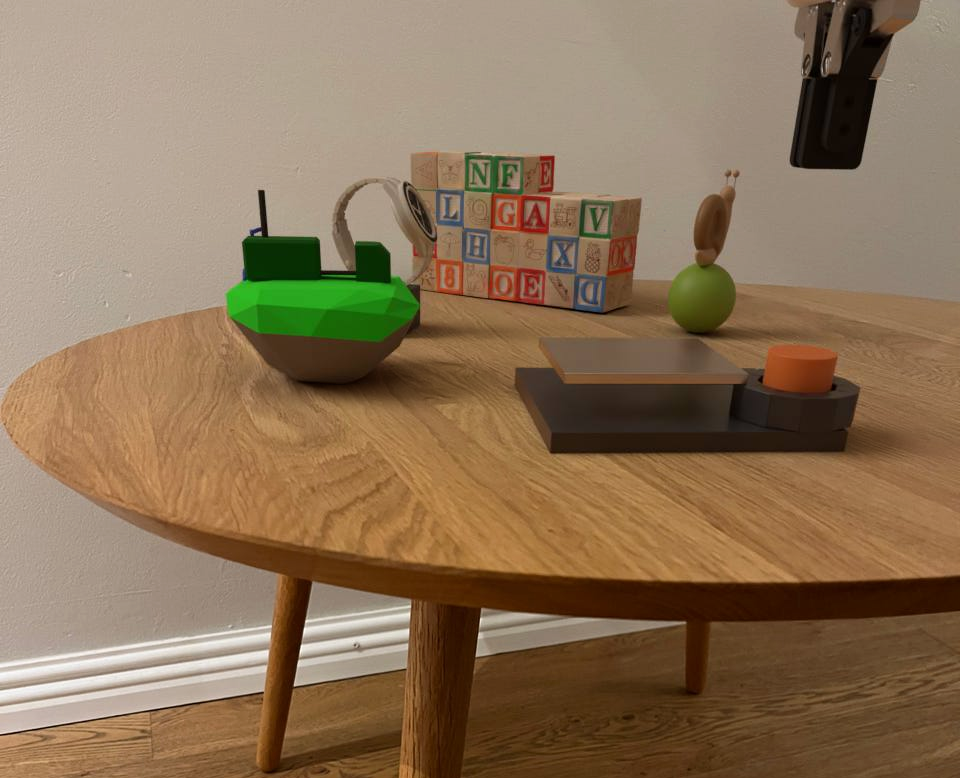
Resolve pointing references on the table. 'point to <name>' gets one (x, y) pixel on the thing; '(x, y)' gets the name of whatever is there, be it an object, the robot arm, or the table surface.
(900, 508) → the table surface
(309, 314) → the floating island model
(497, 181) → the stack of blocks
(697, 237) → the snail figurine
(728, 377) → the scale pan
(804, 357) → the tare button
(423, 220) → the watch
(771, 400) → the scale
